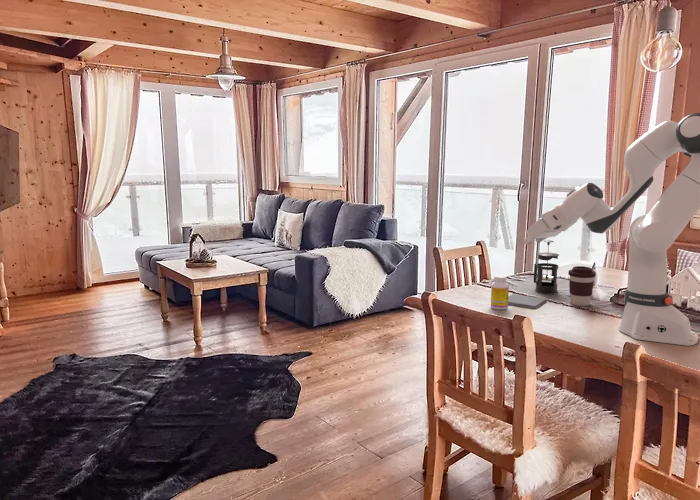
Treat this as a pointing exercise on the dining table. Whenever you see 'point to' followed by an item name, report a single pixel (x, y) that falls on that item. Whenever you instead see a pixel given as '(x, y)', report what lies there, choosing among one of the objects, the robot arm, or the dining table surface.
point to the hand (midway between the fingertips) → (531, 242)
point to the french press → (547, 286)
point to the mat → (525, 301)
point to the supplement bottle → (499, 293)
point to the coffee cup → (581, 285)
